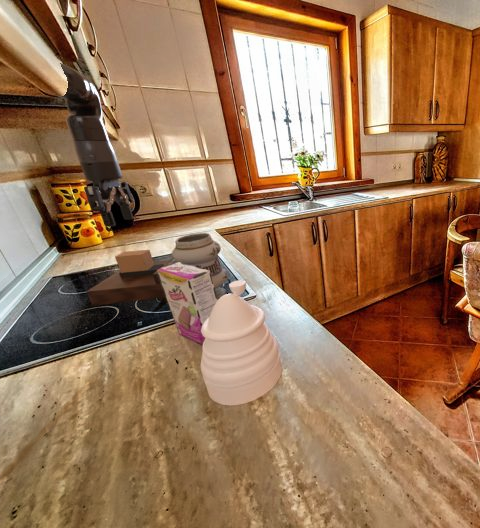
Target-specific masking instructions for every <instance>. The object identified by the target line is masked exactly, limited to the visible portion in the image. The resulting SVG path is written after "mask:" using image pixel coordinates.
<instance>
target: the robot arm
mask: <svg viewBox="0 0 480 528" xmlns="http://www.w3.org/2000/svg"><path fill="white" fill-rule="evenodd" d="M60 64H61V67H62V69H63V71H64V74H65V75H66V77H67V81H68V88H67V92H66V94H65V95H64V96H60V95H56V97H59V98H60V99H64V102H65V104H66V108H67V111H68V115H67V116H66V117H65V123H66V126H67V128H68V132H69V134H70V137H71V139H72V143H73V146H74V150H75V151H74V152H75V154H76V157H77V160H78V162H79V165H80V168H81V170H82V173H83V176H84V178H85V180H86V181H88V182H92V185H89V186H84V187H83V191H84V193H85V196H86V199H87V202H88V205H89V208H90V211H92V212H97V213H99V214H100V217H101V220H102V223H103V225H104V226H105V227H107V228H109V227H115V226H116V225H117V223H116V221H115V218H114V214H113V213H112V211H111V210H112V209H111V208H112V205H113V204H114V202H115V203H116V204H117V205H118V206H119V209H120V212H121V215H122V217H123V220H126V221H129V220H133V219H134V215H133V212H132V209H131V206H132V203H134V198H133V195H132V192H131V190H130V188H129V187H130V186H129V185H128V182H127V181H119V180H121V179H123V177H124V176H123V173H122V171H121V167H120V164H119V161H118V158H117V155H116V152H115V149H114V147H113V145H112V143H111V141H110V137H109V134H108V130H107V128H106V125H105V123H104V119H103V118H104V116H103V109H102V103H101V99H100V95H99V93H98V90H97V88H96V86H95V84H94V82H93V81H92V80H91V79H90V78H88V77H87V76H86V75H84V74H82V73H81V72H80V71H77V70H76V69H74V68H73V67H70V66H68V65H66V64H64V63H62V62H60ZM95 203H96V204H95Z"/></svg>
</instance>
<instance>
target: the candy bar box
mask: <svg viewBox="0 0 480 528" xmlns="http://www.w3.org/2000/svg"><path fill="white" fill-rule="evenodd" d="M157 272H158V274H159V277H160V280H161V283H162V286H163V289H164V292H165V295H166V298H167V301H168V302H167V304H168V306H169V309H170V312H171V315H172V318H173V321H174V324H175V328H176V330H177V333H178V335H180V336H183V337H184V338H186V339H189V340H191V341H193V342H195V343H197V344H199V345H201V346H203V342H204V341H205V337H204V336H203V335H202V332H201V328H202V325H203V323H204V322H205V321H206V320H207V319H208V318H209V317H210V314H211V311H212V309H213V307H214V305H215V303H216V302H217V301H218V300H217V297H216V293H215V289H214V285H213V282H212V277H211V273H210V271H209V270H205V269H202V268H198V267H194V266H191V265H187V264H184V263H180V262H178V263H175V264H172V265H168V266H166V267H162V268H160V269H158V270H157Z"/></svg>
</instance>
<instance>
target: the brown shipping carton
mask: <svg viewBox="0 0 480 528" xmlns="http://www.w3.org/2000/svg"><path fill="white" fill-rule="evenodd" d="M114 259H115V261H116V263H117V266H118V269H119V270H120V271H121V272H120V273H119V274H120V277H121V278H124V277H134V276H144V275H153V274H154V273H155V272H156V271H157V270H158V269H160V268H161V267H162V266H163V265H164V264H159V265H154V262H155V261H154V259H153V256H152V253H151V250H150V249H140V250H130V251H129V250H128V251H122V252H121V253H119V254H117V255H115V256H114Z"/></svg>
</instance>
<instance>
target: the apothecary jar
mask: <svg viewBox="0 0 480 528" xmlns="http://www.w3.org/2000/svg"><path fill="white" fill-rule="evenodd" d="M174 244H175V247H174V248H173V250H172V251H171V259H172V258H173V259H174V260H175V261H177V262H180V263H184V264H187V265H191V266H194V267H198V268H202V269H205V270H209V271H210V273H211V277H212V282H213V285H214V289H215V293H216V297H217V300H218V299H219V298H220V297H222V296H223V295H225V294H227V293H228V294H229V292H228V289H226V288H224V287H222V286H223V285H225V284H226V282H227V280H228V278H229V273H228V271H227V270H226V269H225V268H223V267H222V265H221V262H220V259H219V254H220V252H221V249H222V247H221V245H220V243H218V242H217V241H215V240H213V238H212V235H211V234H210V233H209V232H208V233H207V232H201V233H200V232H199V233H192V234H187V235H184V236H181V237H178V238H176V239H175V242H174Z"/></svg>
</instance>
